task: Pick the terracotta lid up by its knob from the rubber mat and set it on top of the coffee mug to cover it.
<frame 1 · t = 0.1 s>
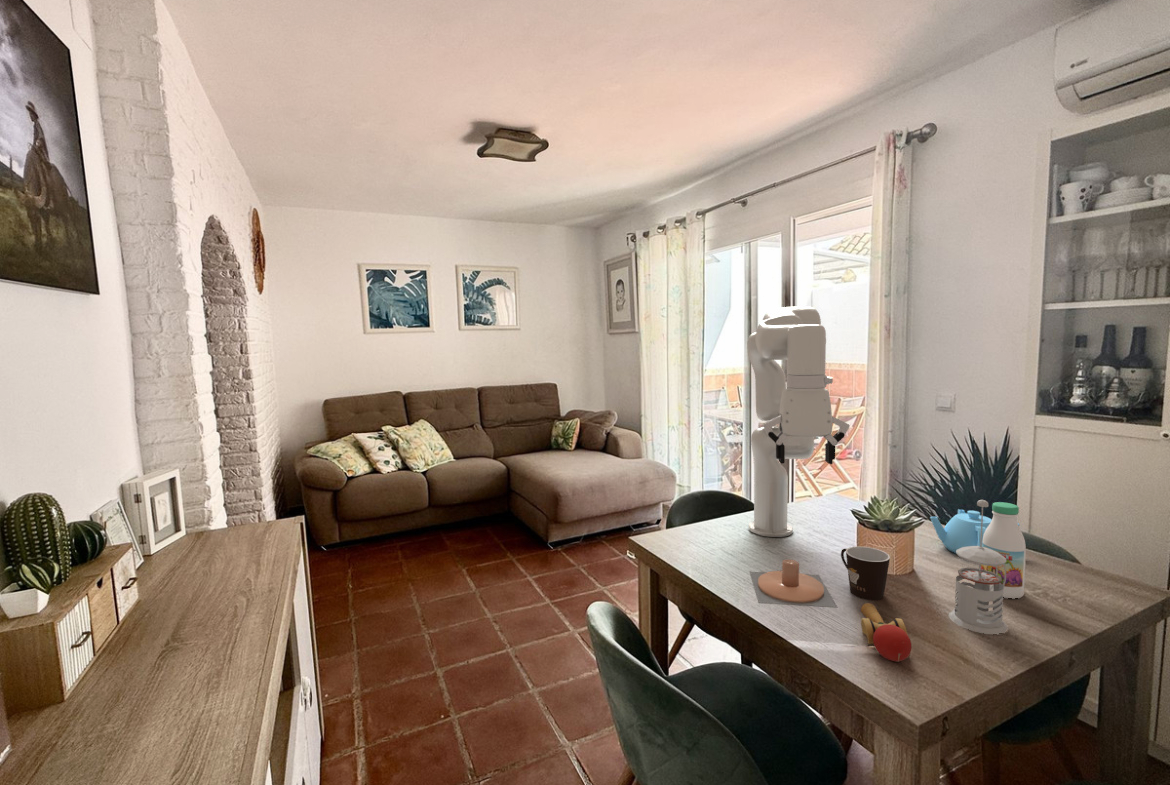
hand: (804, 462, 115), 31 cm above the table, tool pointing down, fingers open, 9 cm apart
kendama: (880, 641, 102), on the table
coffee mug: (864, 595, 120), on the table
teapot: (971, 551, 143), on the table
lid: (790, 588, 122), point 1 cm above the table, touching mat
french press: (980, 621, 108), on the table
milk bottle: (1001, 592, 120), on the table
mat: (790, 592, 122), on the table
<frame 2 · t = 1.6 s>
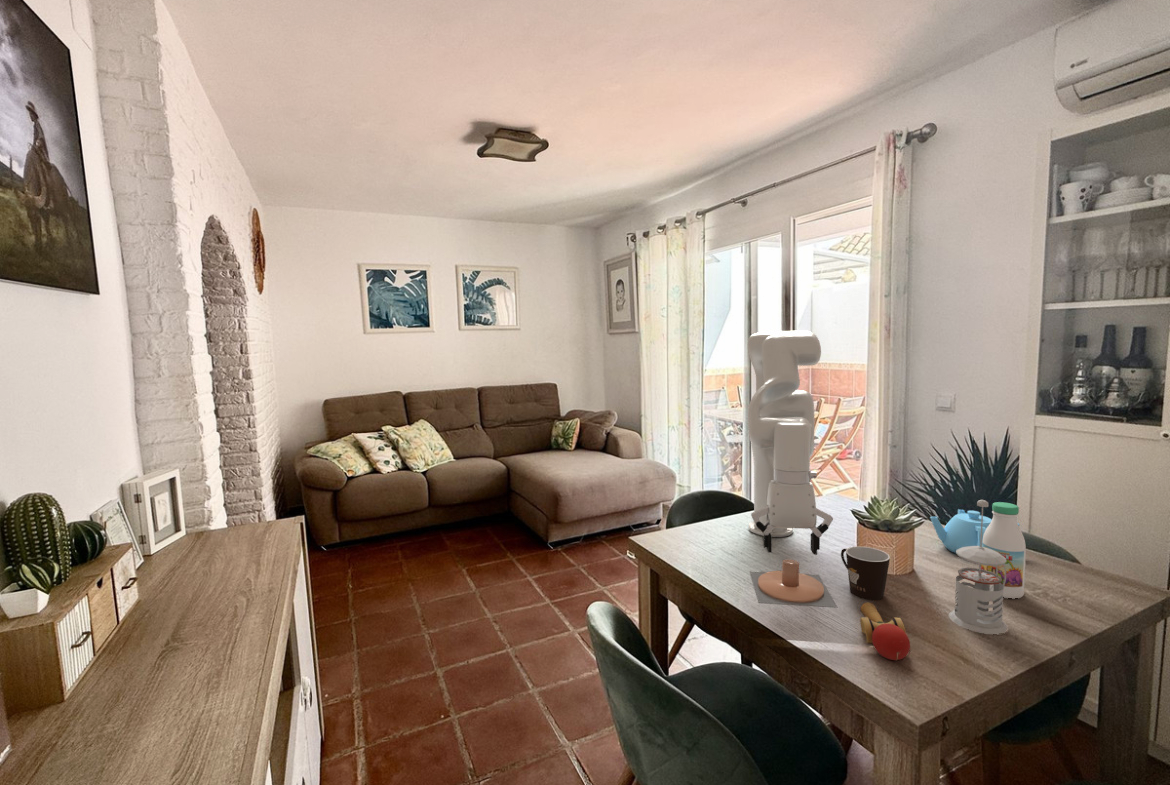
hand: (791, 551, 121), 10 cm above the table, tool pointing down, fingers open, 9 cm apart
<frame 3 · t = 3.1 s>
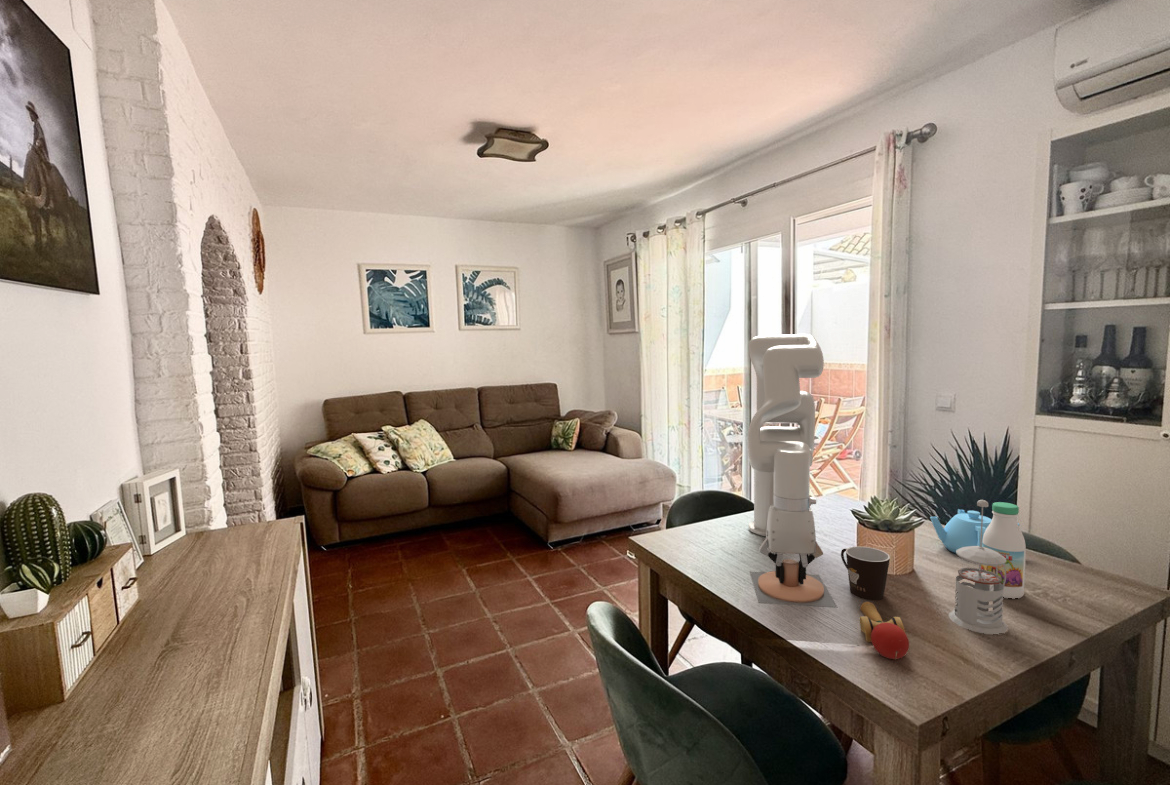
hand: (790, 580, 122), 3 cm above the table, tool pointing down, fingers closed on lid, 3 cm apart
lid: (790, 587, 122), point 1 cm above the table, touching gripper, mat
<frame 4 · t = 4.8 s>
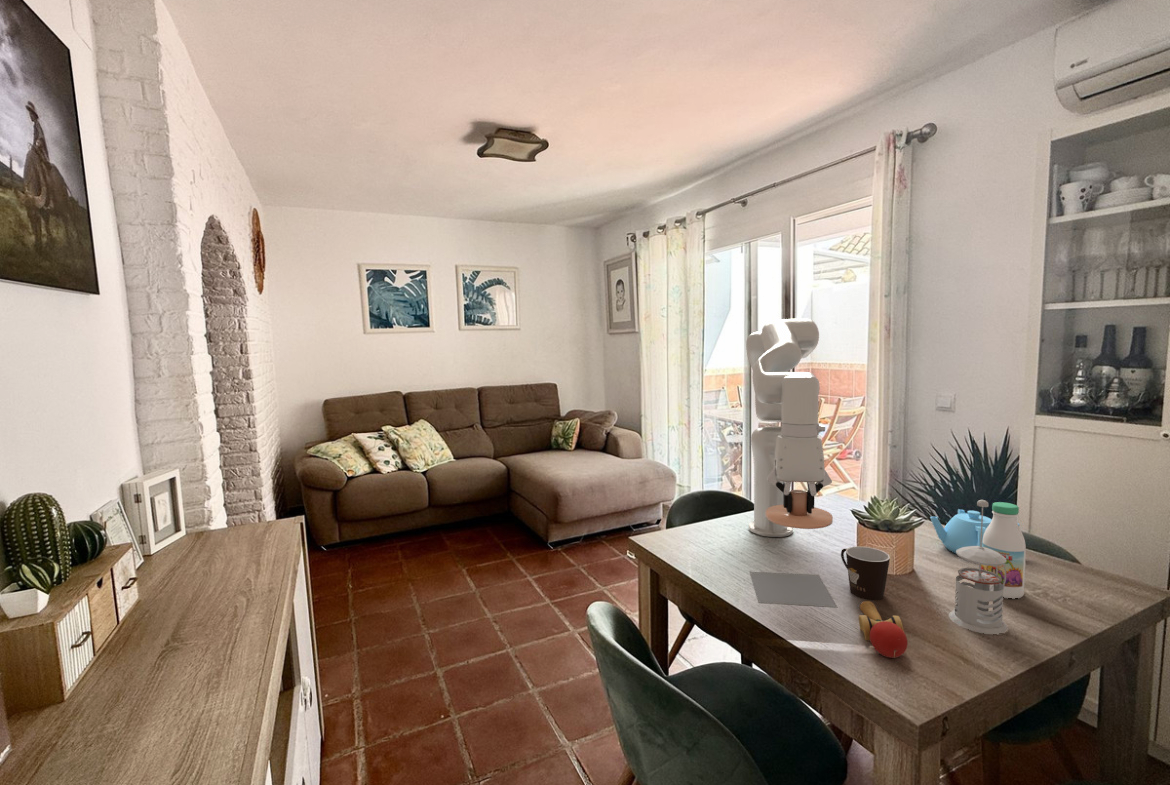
hand: (798, 510, 120), 19 cm above the table, tool pointing down, fingers closed on lid, 3 cm apart
lid: (798, 518, 120), point 17 cm above the table, touching gripper
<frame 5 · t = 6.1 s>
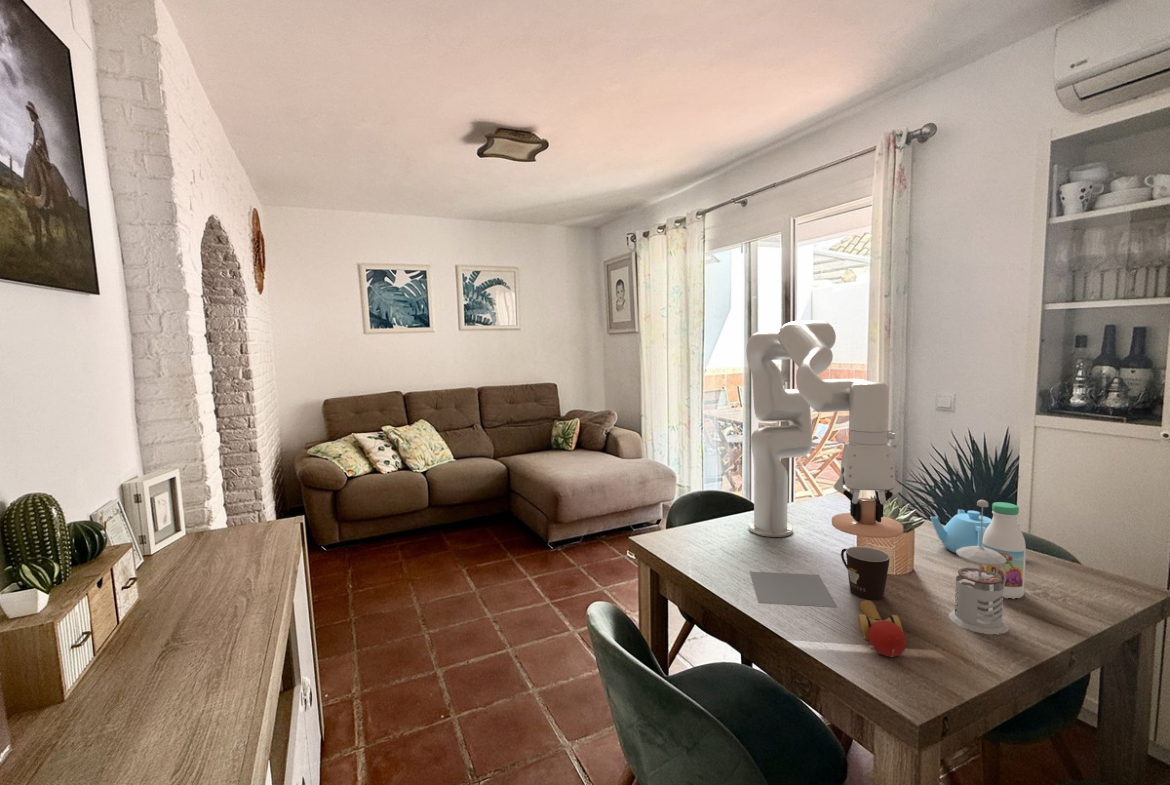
hand: (866, 519, 119), 17 cm above the table, tool pointing down, fingers closed on lid, 3 cm apart
lid: (866, 526, 119), point 16 cm above the table, touching gripper
when the fingers open (13 cm above the table, at t = 7.0 s): lid drops 1 cm, resting on coffee mug.
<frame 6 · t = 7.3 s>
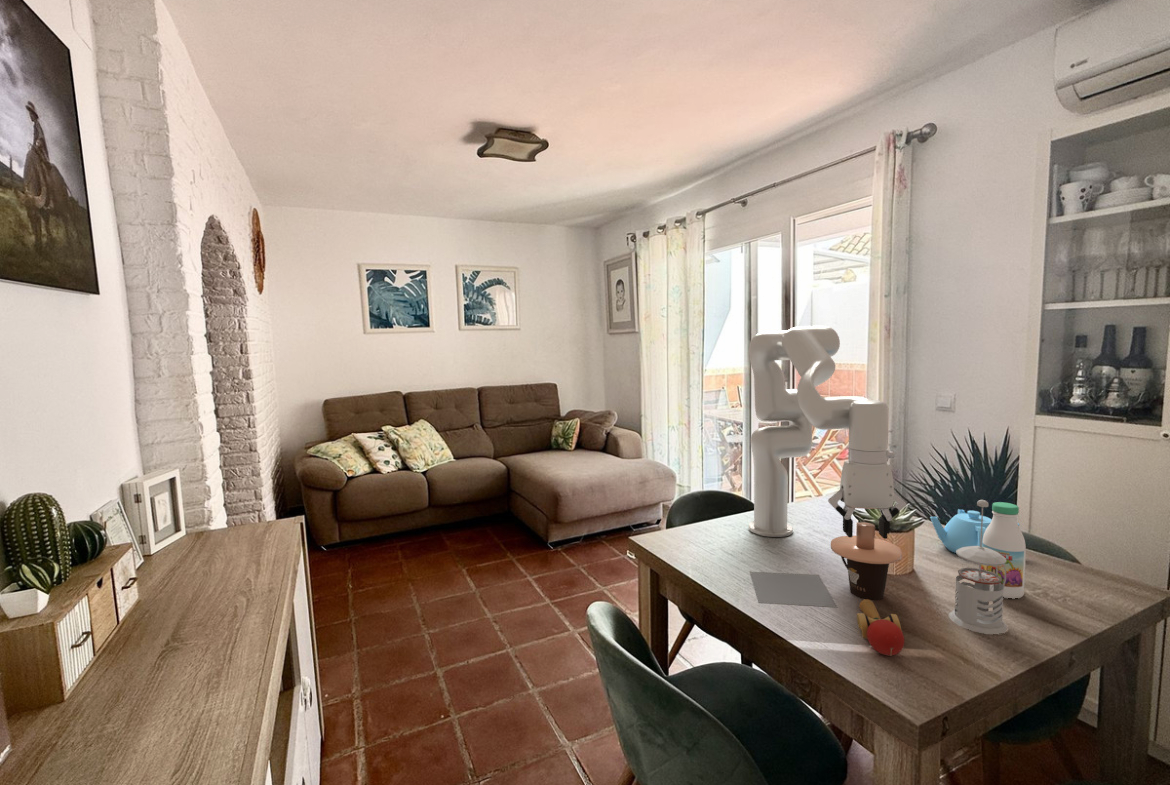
hand: (865, 535, 119), 14 cm above the table, tool pointing down, fingers open, 6 cm apart
coffee mug: (864, 595, 120), on the table, touching lid
lid: (865, 551, 119), point 10 cm above the table, touching coffee mug
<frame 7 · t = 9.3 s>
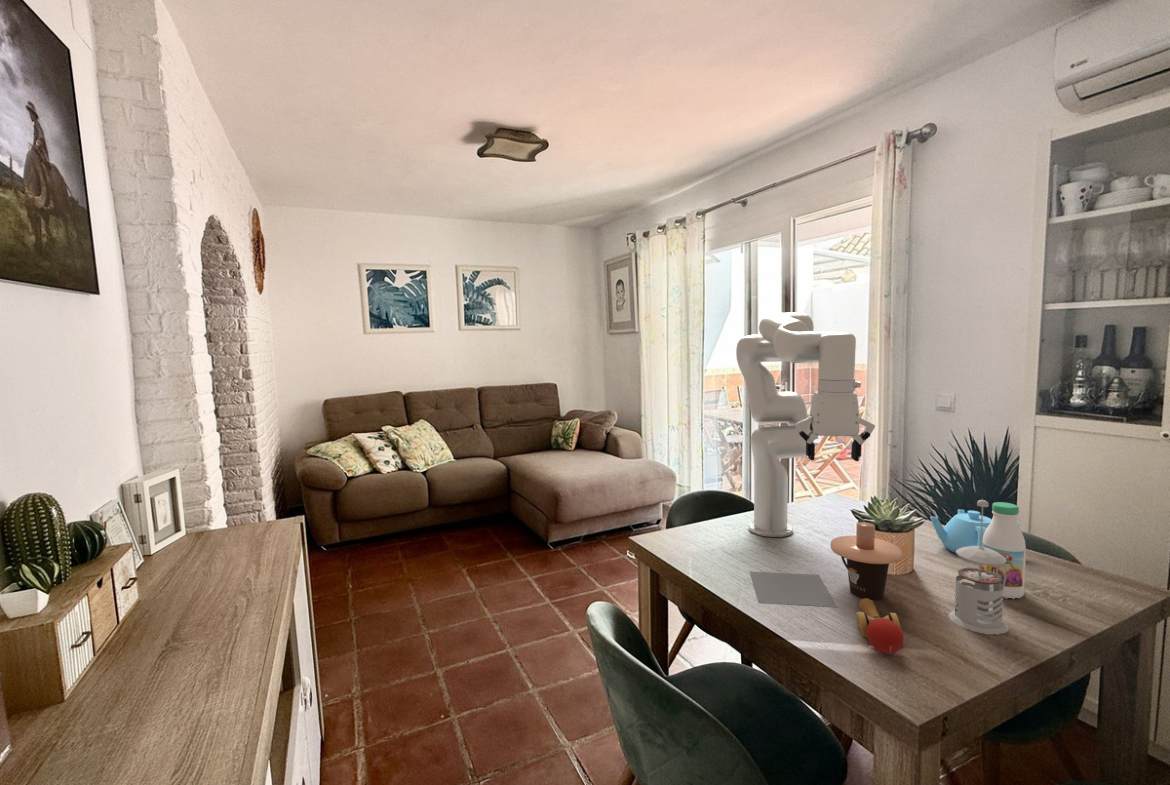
hand: (832, 459, 125), 29 cm above the table, tool pointing down, fingers open, 9 cm apart
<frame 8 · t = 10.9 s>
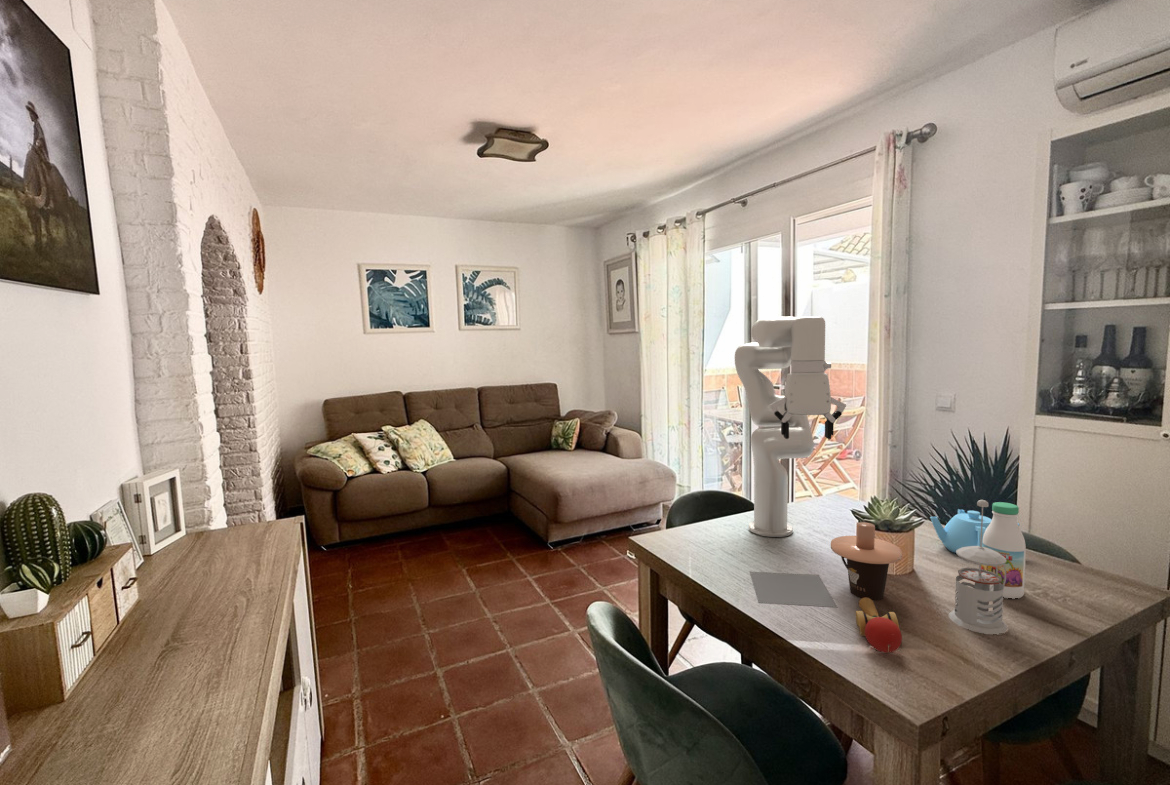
hand: (806, 438, 131), 33 cm above the table, tool pointing down, fingers open, 9 cm apart
at the end: lid 0.0 cm off-centre on the coffee mug, point 10.2 cm above the coffee mug's base; lid tilted 0°; the gripper is holding nothing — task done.
